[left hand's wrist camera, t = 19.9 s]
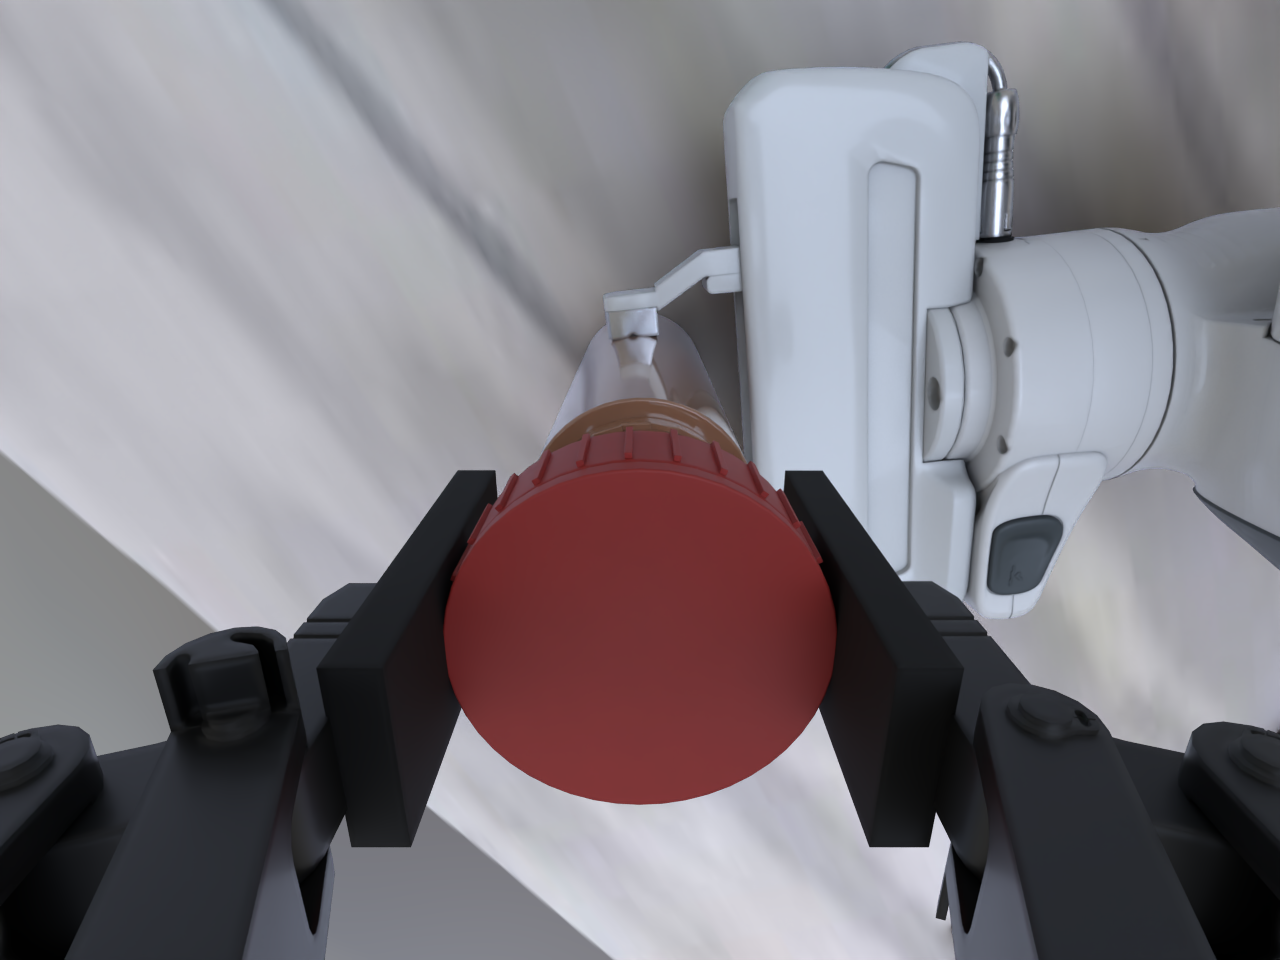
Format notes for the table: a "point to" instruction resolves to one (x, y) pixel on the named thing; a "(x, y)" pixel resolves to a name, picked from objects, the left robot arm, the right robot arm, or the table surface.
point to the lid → (640, 620)
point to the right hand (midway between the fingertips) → (617, 409)
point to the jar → (643, 391)
